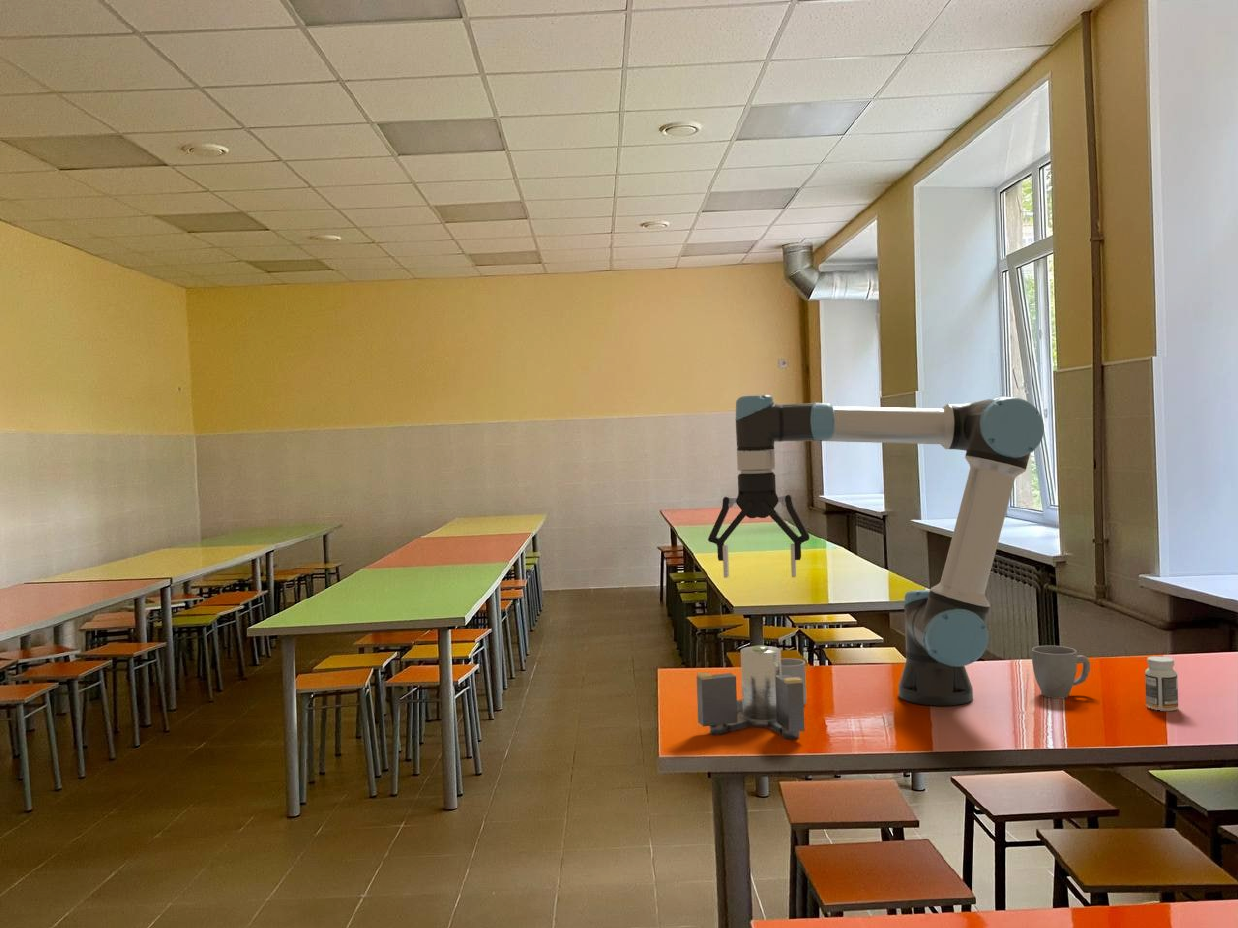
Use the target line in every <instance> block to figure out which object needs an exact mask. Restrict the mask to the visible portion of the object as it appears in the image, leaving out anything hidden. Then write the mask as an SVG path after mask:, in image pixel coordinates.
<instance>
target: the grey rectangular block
mask: <svg viewBox="0 0 1238 928" xmlns="http://www.w3.org/2000/svg"><path fill="white" fill-rule="evenodd" d="M775 684H776V714H777V723H778V724H780V725H781V726H782V734H781V736H782V739H785V740H797V739H799V738H800V732H805V708H804V707H805V705H804V702H803V680H802V679H801V678H799V677H793V676H792V675H777V676H775Z"/></svg>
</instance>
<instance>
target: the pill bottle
mask: <svg viewBox="0 0 1238 928" xmlns="http://www.w3.org/2000/svg"><path fill="white" fill-rule="evenodd" d="M1146 660H1147V665H1148V668H1146V669H1145V672H1144V679H1145V680H1144V681H1145V703H1146V704H1145V705H1146V707H1147V708H1148V709H1150V708H1151V709H1150V710H1153V709H1154V710H1153V711H1157V710H1160V711H1159V712H1174V710H1175V711H1176V710H1178V709H1179V689H1178V688H1179V687H1178V673H1177V671H1176V670H1175V669H1174V667H1175V659H1173V657H1167V656H1149V657H1147V659H1146Z"/></svg>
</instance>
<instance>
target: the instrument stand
mask: <svg viewBox="0 0 1238 928" xmlns="http://www.w3.org/2000/svg"><path fill="white" fill-rule="evenodd" d="M781 659H782V649H780V648H778V647H775V646H771V645H770V646H767V645H753V646H746V647H743V648H741V649H740V665H741V666H740V671H741V672H740V674H741V675H740V676H741V698H742V699H737V719H738V723H731V724H726V732H735V731H739V730H742V729H745V728H749V727H750V728H751V727H752V728H768V729H770V730H772V731H773V732H775V733H777V734H778V735H782V726H781V725H780V724H778V723H777V714H776V684H775V676H777V675H782V673H781Z"/></svg>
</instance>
